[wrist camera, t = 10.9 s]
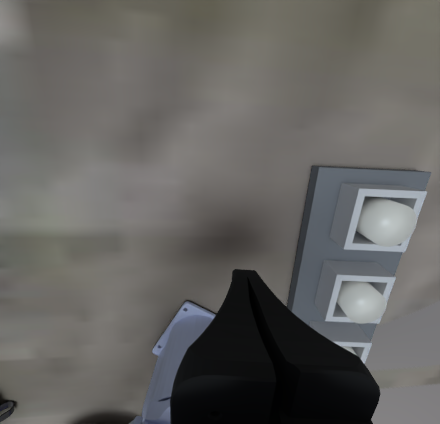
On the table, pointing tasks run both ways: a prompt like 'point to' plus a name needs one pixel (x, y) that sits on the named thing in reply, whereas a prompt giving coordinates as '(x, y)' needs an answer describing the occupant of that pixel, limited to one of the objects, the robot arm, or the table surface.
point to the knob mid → (361, 301)
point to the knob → (386, 221)
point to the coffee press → (8, 413)
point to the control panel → (346, 247)
